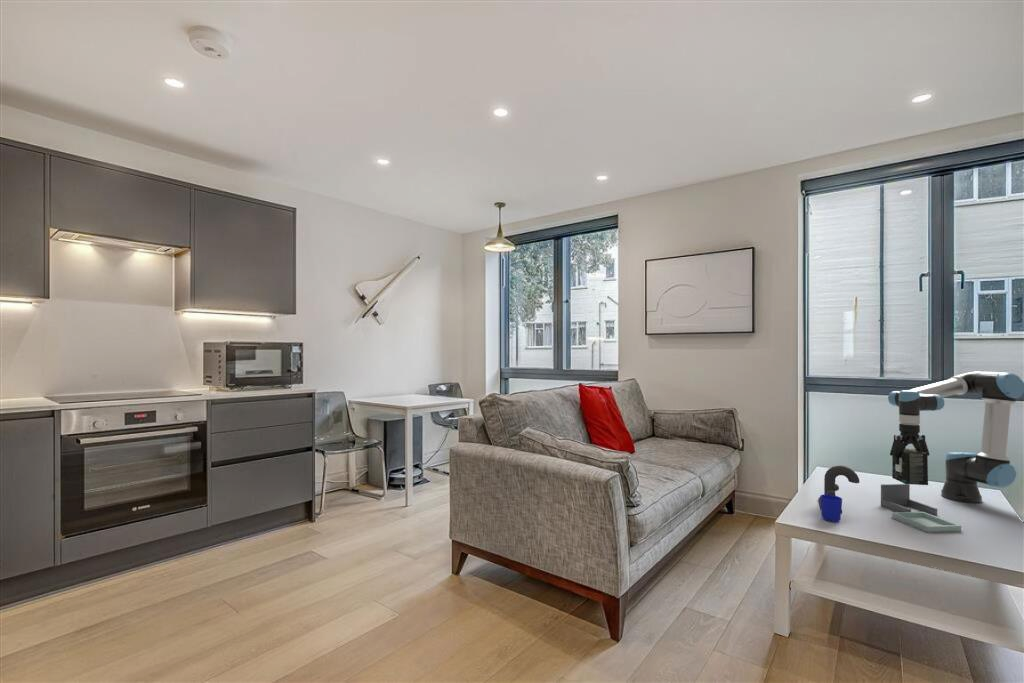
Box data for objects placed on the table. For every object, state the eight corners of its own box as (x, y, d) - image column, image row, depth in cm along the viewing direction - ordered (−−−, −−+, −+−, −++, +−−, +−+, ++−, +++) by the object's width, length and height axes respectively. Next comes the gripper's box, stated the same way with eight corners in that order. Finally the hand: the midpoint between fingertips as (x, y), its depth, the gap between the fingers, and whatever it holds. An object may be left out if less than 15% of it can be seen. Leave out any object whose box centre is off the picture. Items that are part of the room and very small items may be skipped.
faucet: (862, 516, 218) (862, 472, 219) (820, 510, 226) (820, 467, 226) (857, 505, 234) (857, 463, 234) (818, 499, 242) (818, 459, 242)
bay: (907, 504, 235) (907, 483, 235) (937, 515, 220) (937, 493, 220) (880, 505, 234) (880, 484, 234) (908, 516, 219) (908, 494, 219)
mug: (836, 515, 220) (836, 493, 220) (844, 524, 209) (844, 501, 209) (815, 512, 223) (815, 491, 223) (822, 522, 212) (822, 499, 212)
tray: (923, 517, 218) (923, 511, 218) (961, 531, 201) (961, 525, 201) (892, 517, 217) (892, 512, 217) (927, 532, 200) (927, 526, 200)
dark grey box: (928, 485, 221) (928, 453, 221) (905, 484, 222) (905, 452, 222) (913, 479, 231) (913, 448, 231) (891, 478, 233) (891, 447, 233)
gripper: (924, 421, 232) (924, 468, 232) (879, 422, 230) (880, 469, 230) (939, 424, 224) (940, 472, 224) (893, 425, 222) (894, 474, 222)
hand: (909, 471), depth 227 cm, fingers closed on dark grey box, 10 cm apart
